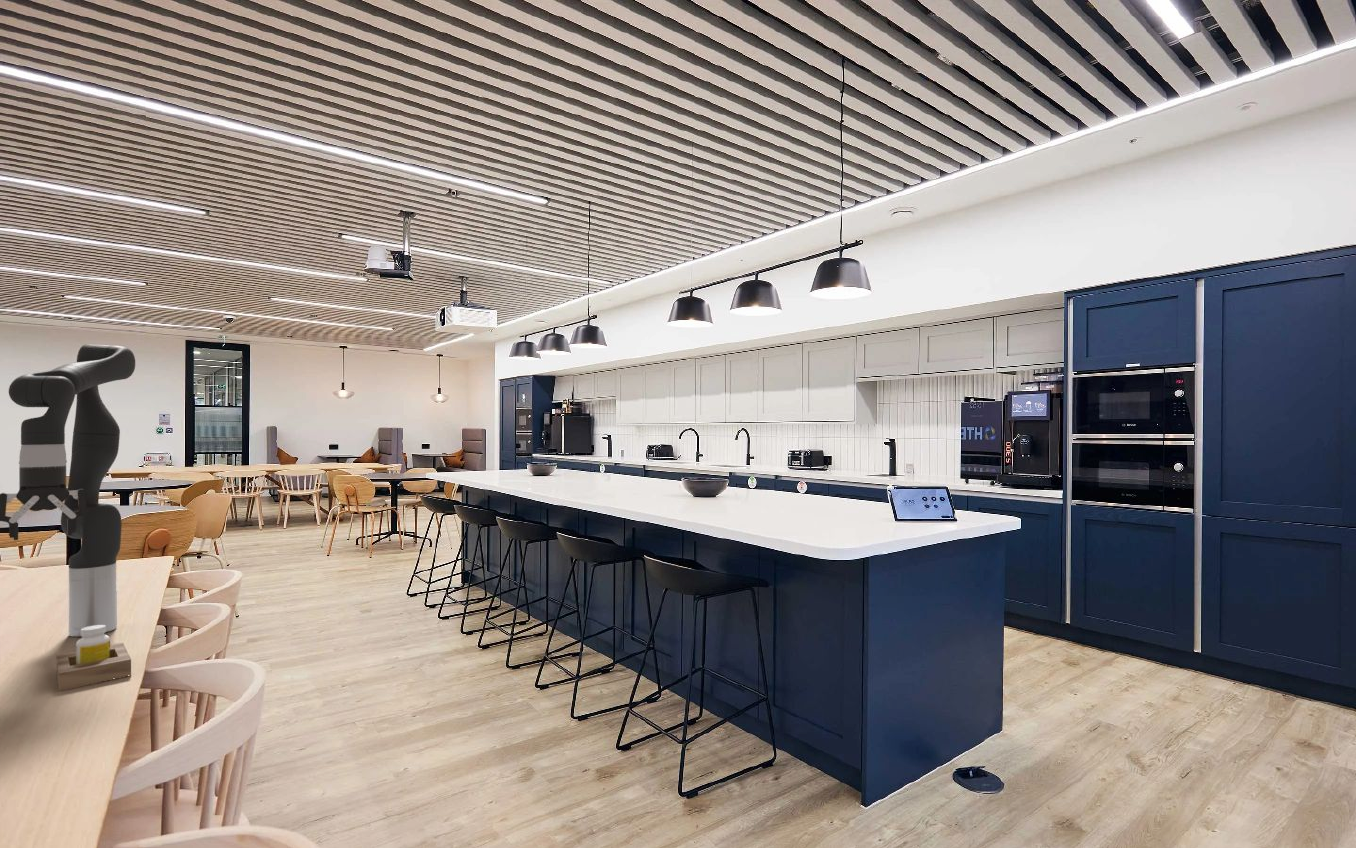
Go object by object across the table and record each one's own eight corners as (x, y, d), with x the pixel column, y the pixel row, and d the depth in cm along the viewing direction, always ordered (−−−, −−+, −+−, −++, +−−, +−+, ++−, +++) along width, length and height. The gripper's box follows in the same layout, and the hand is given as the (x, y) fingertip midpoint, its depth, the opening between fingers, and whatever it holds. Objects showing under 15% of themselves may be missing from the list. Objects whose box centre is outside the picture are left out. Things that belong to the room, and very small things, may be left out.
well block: (56, 671, 140) (56, 655, 140) (123, 658, 148) (123, 642, 148) (58, 691, 128) (58, 673, 128) (131, 676, 136) (131, 659, 136)
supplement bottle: (116, 670, 140) (115, 624, 140) (86, 679, 135) (85, 632, 135) (99, 667, 142) (99, 622, 142) (69, 676, 136) (69, 630, 137)
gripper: (-4, 466, 138) (-4, 543, 137) (87, 463, 148) (87, 535, 147) (-3, 466, 143) (-3, 540, 143) (85, 463, 153) (85, 532, 153)
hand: (43, 537), depth 145 cm, fingers open, 8 cm apart
